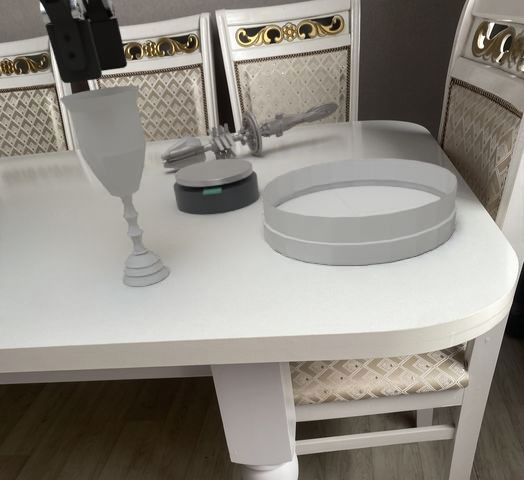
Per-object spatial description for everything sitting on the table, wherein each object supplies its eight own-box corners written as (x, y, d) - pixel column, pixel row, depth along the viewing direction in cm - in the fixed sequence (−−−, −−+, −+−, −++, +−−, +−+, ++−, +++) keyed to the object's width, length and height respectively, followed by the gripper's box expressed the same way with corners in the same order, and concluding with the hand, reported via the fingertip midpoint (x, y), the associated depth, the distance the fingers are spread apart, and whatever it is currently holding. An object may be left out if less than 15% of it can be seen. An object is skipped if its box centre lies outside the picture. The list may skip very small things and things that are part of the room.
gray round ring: (282, 280, 52) (277, 232, 49) (251, 211, 71) (247, 174, 68) (494, 244, 54) (500, 196, 51) (410, 186, 72) (411, 149, 70)
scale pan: (171, 190, 70) (169, 184, 70) (180, 169, 79) (179, 163, 79) (252, 181, 70) (252, 175, 69) (252, 161, 79) (252, 155, 78)
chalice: (141, 259, 61) (98, 87, 51) (190, 264, 58) (154, 83, 48) (99, 287, 55) (42, 101, 46) (151, 294, 53) (102, 98, 43)
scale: (171, 219, 71) (167, 196, 70) (182, 192, 82) (178, 172, 80) (259, 210, 71) (256, 186, 69) (258, 184, 81) (256, 163, 79)
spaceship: (350, 95, 93) (328, 75, 97) (165, 154, 86) (150, 129, 90) (346, 135, 100) (326, 114, 104) (174, 193, 93) (159, 168, 97)
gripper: (22, -157, 44) (83, 70, 53) (-92, -240, 30) (19, 93, 39) (109, -171, 44) (155, 61, 53) (37, -262, 29) (118, 79, 38)
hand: (98, 74), depth 46 cm, fingers open, 9 cm apart
